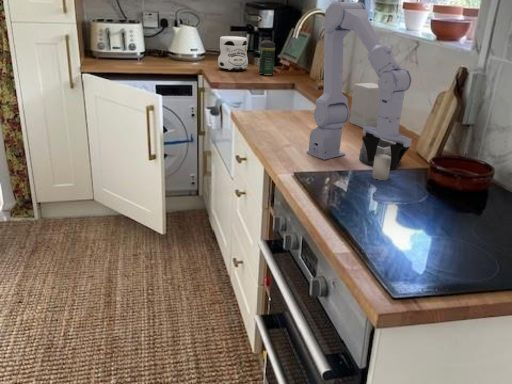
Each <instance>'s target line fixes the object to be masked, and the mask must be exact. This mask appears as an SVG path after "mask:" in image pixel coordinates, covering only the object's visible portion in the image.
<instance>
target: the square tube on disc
mask: <svg viewBox="0 0 512 384" xmlns="http://www.w3.org/2000/svg"><path fill="white" fill-rule="evenodd" d="M394 144H395V145H396V143H394V142H391V141H388V140H384V139H381V138H380V140H379V143H378V146H377V150H376V155H377V154H383V155H388V156H391V149H390V145H394ZM358 157H359V161H360V162H361V163H363V164H364V165H367V166H371V167H373V164H374V161H372V162H368V159H367V151H366V147H365V144H364V142H363V141H362V146H361V148H360V152H359V156H358ZM400 165H401V161H400V162H399V165H398V166H400Z"/></svg>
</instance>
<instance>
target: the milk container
mask: <svg viewBox="0 0 512 384" xmlns="http://www.w3.org/2000/svg"><path fill="white" fill-rule="evenodd" d="M247 51H248V38H247V37H245V36H235V35H234V36H233V35H224V36H222V35H221V36H220V37H219V53H218V58H217V64H218V65H217V66H218V67H219V68H220V69H221V68H222V69H221V70H224V69H231V70H240V71H244V70H246V69H247V68H248V65H249V59H248V53H247Z"/></svg>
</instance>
